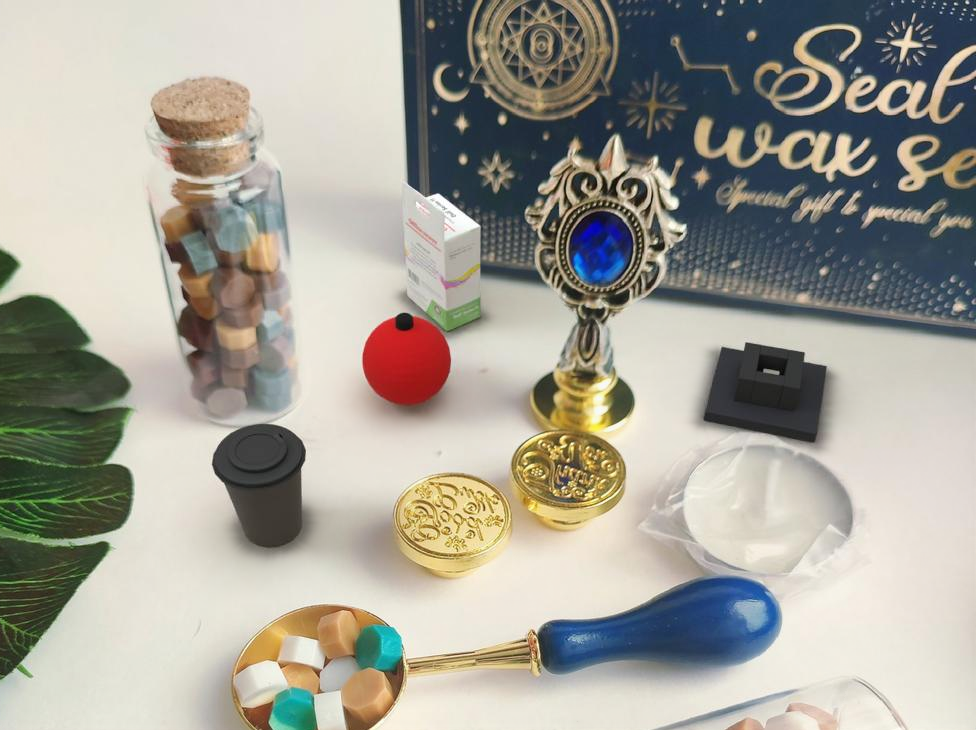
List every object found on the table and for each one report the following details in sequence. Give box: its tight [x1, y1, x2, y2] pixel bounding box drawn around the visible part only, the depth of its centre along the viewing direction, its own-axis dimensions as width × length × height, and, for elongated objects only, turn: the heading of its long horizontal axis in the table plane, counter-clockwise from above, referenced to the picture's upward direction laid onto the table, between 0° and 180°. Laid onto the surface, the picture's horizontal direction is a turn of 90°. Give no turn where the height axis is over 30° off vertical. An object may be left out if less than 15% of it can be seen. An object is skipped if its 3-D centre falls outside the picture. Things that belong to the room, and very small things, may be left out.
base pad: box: [703, 346, 828, 443], centre depth 110 cm, size 11×11×3 cm
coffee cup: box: [211, 423, 307, 548], centre depth 96 cm, size 8×8×10 cm
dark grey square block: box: [734, 341, 806, 411], centre depth 109 cm, size 6×6×3 cm
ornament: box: [361, 312, 452, 406], centre depth 108 cm, size 9×9×10 cm
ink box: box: [401, 181, 482, 332], centre depth 117 cm, size 9×5×15 cm, turn 34°
